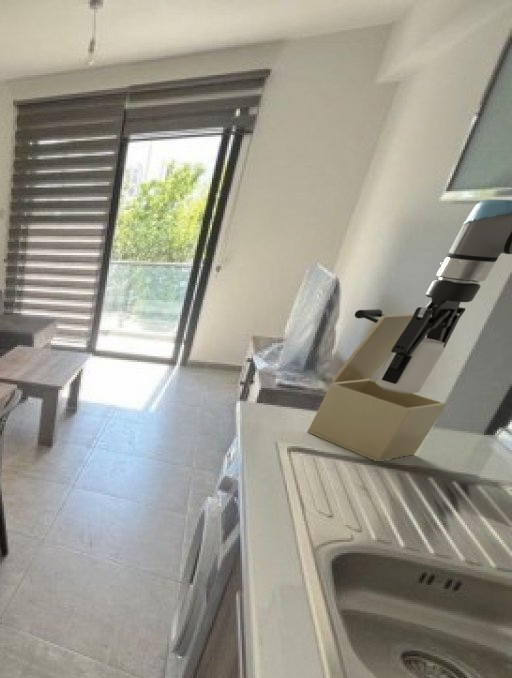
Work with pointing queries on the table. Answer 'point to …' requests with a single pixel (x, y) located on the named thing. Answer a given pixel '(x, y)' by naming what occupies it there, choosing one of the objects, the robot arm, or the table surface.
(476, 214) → the robot arm
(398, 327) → the box lid
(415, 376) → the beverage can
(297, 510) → the table surface
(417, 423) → the tan box
